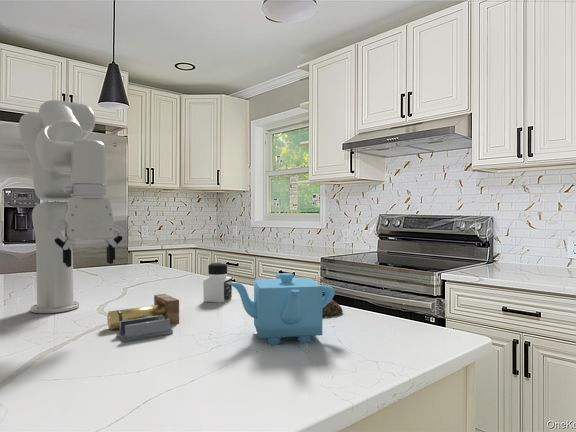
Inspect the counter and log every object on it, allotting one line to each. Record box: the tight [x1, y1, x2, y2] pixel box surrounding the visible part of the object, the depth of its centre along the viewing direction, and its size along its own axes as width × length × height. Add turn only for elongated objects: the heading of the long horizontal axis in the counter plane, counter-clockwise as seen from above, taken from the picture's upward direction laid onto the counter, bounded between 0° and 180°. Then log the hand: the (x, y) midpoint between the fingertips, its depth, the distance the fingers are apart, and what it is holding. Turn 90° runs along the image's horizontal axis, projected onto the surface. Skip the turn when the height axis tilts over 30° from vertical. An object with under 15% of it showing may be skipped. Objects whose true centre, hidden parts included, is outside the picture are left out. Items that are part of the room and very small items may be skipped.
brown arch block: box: [153, 293, 180, 326], centre depth 114 cm, size 10×3×6 cm, turn 37°
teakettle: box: [227, 272, 336, 346], centre depth 99 cm, size 19×19×15 cm
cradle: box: [116, 315, 174, 343], centre depth 101 cm, size 6×11×3 cm, turn 127°
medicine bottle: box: [203, 262, 233, 304], centre depth 139 cm, size 7×7×12 cm
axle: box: [107, 304, 165, 331], centre depth 110 cm, size 14×4×4 cm, turn 127°
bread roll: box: [322, 295, 344, 318], centre depth 123 cm, size 13×12×5 cm
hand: (89, 264), depth 103 cm, fingers open, 8 cm apart
